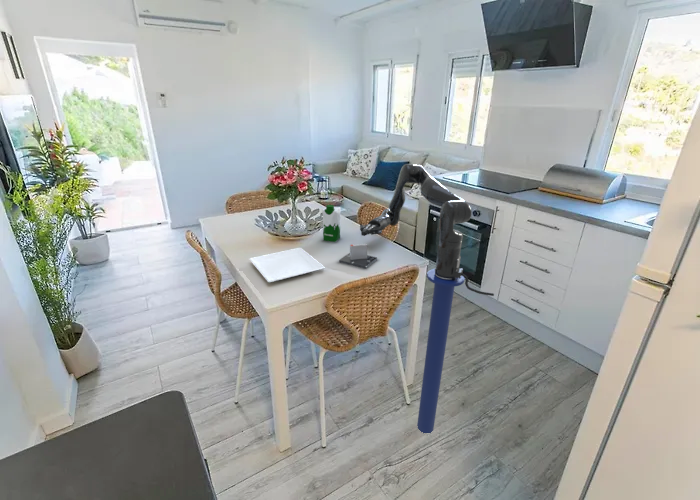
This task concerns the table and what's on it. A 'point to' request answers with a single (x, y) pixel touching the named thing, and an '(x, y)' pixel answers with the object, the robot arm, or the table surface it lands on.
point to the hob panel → (358, 261)
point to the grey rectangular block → (358, 251)
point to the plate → (285, 264)
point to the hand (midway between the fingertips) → (362, 233)
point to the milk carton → (331, 223)
